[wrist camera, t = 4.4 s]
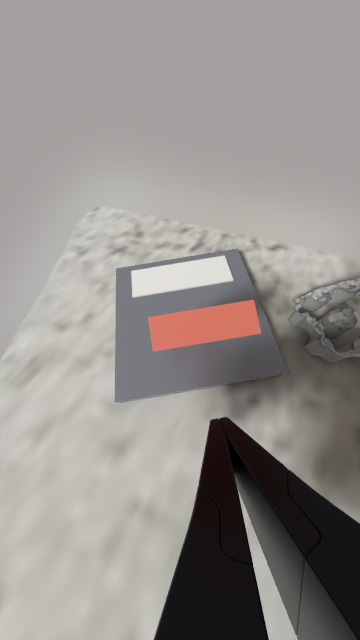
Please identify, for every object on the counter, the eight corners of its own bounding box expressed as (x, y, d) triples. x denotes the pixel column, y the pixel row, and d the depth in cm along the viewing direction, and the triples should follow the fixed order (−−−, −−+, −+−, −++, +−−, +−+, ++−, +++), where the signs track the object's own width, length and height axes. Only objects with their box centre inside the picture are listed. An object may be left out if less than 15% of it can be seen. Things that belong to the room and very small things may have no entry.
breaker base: (282, 375, 18) (290, 371, 16) (120, 402, 18) (114, 401, 16) (235, 257, 25) (237, 247, 24) (120, 276, 25) (115, 267, 23)
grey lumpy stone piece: (363, 288, 22) (397, 263, 18) (411, 347, 19) (465, 331, 15) (278, 306, 22) (295, 285, 18) (312, 370, 18) (342, 359, 14)
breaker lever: (222, 337, 19) (272, 331, 8) (164, 347, 19) (141, 353, 8) (219, 322, 19) (264, 297, 8) (162, 331, 19) (137, 318, 8)
